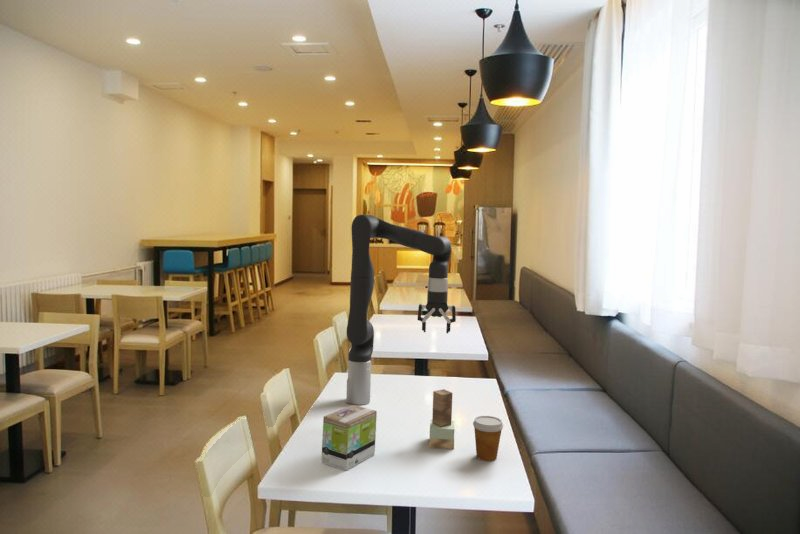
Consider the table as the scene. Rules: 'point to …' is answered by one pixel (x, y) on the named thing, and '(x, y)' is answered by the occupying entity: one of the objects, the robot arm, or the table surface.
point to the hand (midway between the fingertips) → (436, 332)
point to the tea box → (348, 436)
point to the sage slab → (442, 431)
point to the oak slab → (441, 443)
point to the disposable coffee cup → (487, 436)
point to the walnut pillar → (442, 408)
